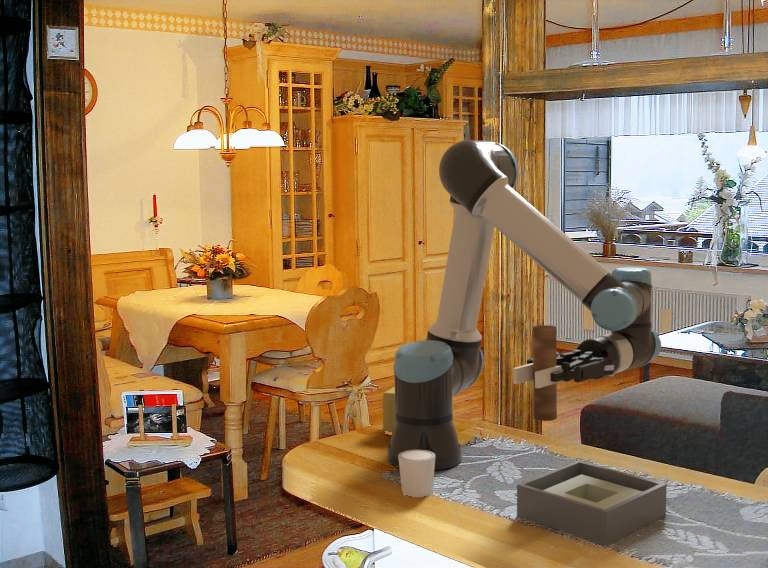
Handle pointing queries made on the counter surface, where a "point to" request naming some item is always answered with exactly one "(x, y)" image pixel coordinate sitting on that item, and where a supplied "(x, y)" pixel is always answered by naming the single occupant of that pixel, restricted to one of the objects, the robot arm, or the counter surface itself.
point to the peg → (542, 360)
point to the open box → (591, 501)
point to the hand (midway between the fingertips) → (525, 378)
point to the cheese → (389, 410)
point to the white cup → (417, 472)
